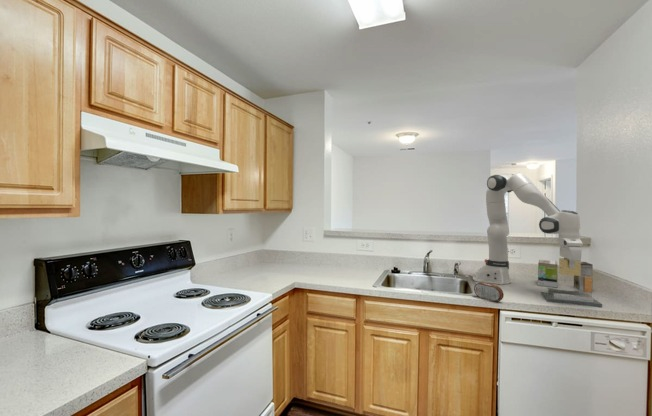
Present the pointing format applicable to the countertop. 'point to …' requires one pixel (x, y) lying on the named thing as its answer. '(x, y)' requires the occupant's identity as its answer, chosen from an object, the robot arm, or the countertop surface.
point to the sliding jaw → (586, 290)
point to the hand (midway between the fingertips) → (569, 267)
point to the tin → (488, 291)
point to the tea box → (547, 273)
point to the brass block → (566, 270)
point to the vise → (571, 299)
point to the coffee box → (585, 271)
